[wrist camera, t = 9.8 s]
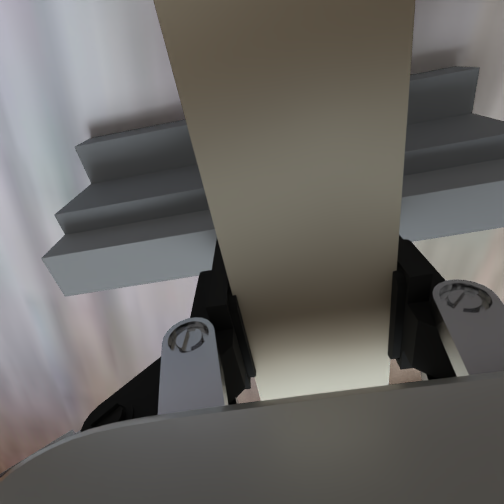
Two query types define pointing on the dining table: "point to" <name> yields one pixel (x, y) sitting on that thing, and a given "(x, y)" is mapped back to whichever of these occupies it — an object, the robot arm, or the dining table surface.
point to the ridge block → (197, 209)
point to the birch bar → (301, 173)
